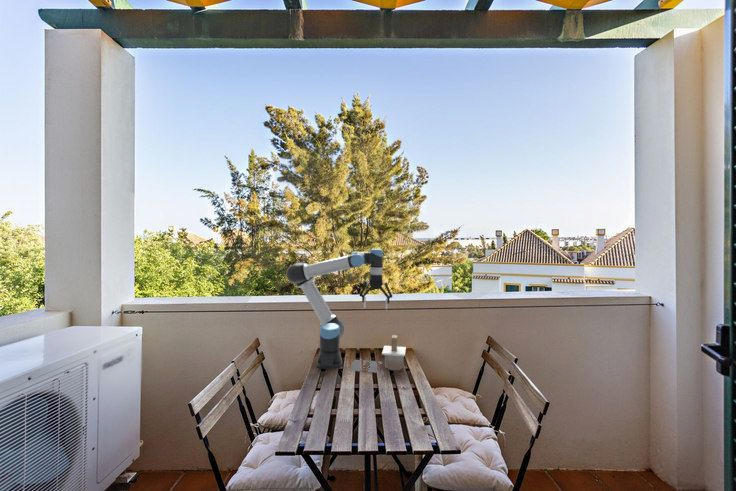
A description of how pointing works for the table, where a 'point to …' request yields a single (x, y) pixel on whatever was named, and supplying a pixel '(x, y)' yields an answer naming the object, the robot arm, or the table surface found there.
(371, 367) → the mat
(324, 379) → the table surface
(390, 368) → the planter
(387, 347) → the lid
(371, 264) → the robot arm
